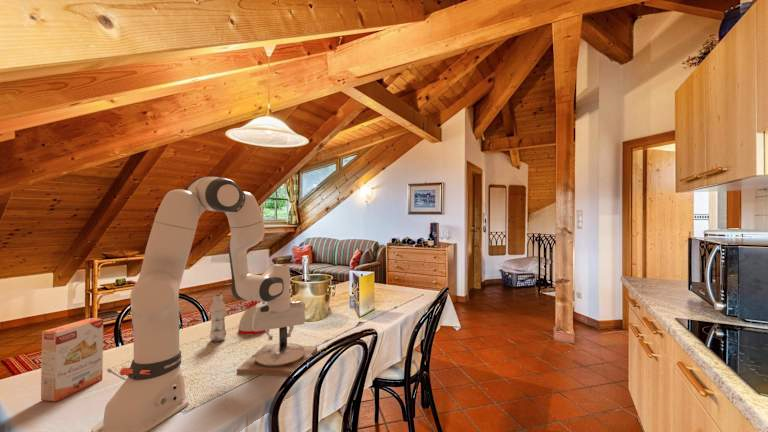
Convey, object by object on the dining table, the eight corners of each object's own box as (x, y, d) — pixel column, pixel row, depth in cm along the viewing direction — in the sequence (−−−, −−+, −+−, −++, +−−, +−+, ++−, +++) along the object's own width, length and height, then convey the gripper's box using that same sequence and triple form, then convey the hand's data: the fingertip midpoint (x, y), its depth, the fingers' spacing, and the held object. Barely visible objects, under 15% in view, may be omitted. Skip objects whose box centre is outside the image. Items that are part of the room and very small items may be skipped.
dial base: (297, 376, 112) (297, 371, 112) (236, 373, 114) (236, 368, 114) (317, 350, 134) (317, 345, 134) (265, 348, 136) (265, 343, 136)
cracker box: (56, 403, 97) (55, 332, 97) (40, 401, 98) (39, 331, 98) (104, 379, 110) (104, 317, 110) (89, 378, 111) (89, 316, 111)
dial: (301, 365, 117) (301, 341, 117) (249, 368, 114) (248, 344, 114) (306, 345, 134) (306, 324, 134) (261, 348, 132) (261, 326, 132)
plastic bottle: (223, 336, 149) (222, 293, 149) (228, 340, 145) (228, 295, 145) (207, 340, 145) (207, 295, 145) (212, 344, 140) (212, 298, 140)
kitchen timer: (272, 330, 157) (272, 299, 157) (242, 337, 149) (241, 304, 149) (265, 323, 168) (264, 294, 168) (236, 328, 161) (236, 297, 161)
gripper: (303, 298, 138) (303, 331, 138) (251, 305, 129) (251, 340, 129) (307, 302, 132) (307, 336, 133) (252, 309, 123) (253, 345, 123)
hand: (279, 338), depth 131 cm, fingers open, 5 cm apart
